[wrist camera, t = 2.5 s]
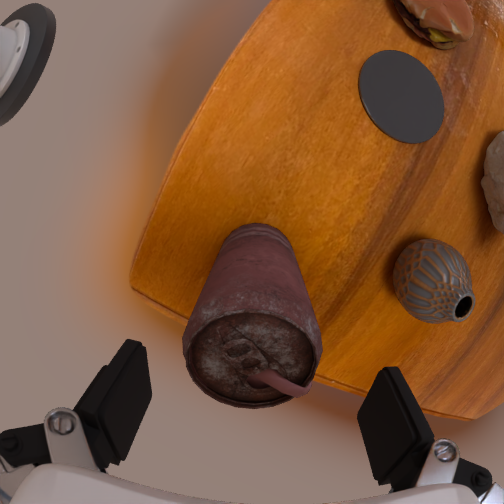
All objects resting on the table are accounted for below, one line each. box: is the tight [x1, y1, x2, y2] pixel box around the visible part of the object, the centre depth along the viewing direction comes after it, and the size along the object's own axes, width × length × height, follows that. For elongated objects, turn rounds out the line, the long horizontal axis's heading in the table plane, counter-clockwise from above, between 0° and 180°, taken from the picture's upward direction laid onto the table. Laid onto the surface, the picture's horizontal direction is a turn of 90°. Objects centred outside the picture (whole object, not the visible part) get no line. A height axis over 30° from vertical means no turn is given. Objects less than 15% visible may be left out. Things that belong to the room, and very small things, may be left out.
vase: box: [393, 239, 475, 323], centre depth 20 cm, size 7×7×9 cm
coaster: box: [359, 50, 444, 143], centre depth 19 cm, size 9×9×1 cm
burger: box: [392, 0, 474, 49], centre depth 13 cm, size 10×9×5 cm
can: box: [182, 223, 323, 409], centre depth 17 cm, size 6×6×14 cm
